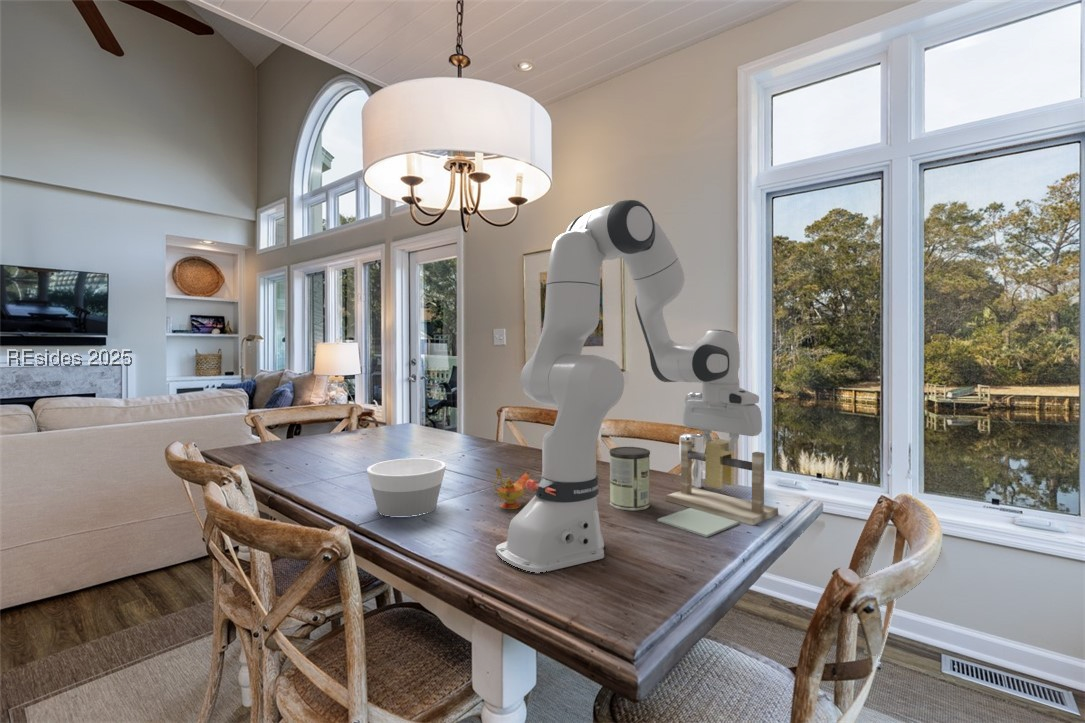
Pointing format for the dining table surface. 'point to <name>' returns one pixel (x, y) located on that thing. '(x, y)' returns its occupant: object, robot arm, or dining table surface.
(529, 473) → the magic lamp
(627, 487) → the coffee can
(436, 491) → the bowl
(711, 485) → the tan upright block
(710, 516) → the mat
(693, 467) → the beer glass
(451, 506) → the dining table surface
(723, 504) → the stand
